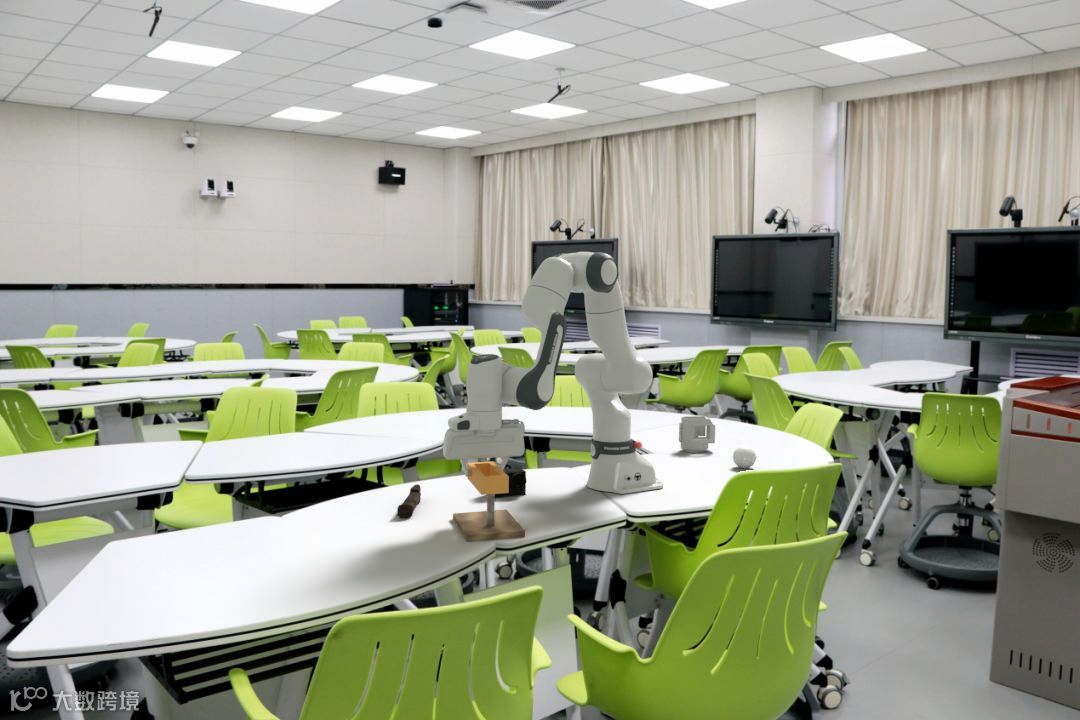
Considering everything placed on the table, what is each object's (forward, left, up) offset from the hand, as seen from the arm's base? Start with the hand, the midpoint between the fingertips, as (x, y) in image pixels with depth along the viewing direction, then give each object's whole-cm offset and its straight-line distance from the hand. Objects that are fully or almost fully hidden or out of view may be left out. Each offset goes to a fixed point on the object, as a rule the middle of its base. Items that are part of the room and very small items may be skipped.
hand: (484, 475), depth 204 cm
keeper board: (0, +4, -12) cm, 13 cm away
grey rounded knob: (-95, -36, -13) cm, 102 cm away
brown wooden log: (+16, -18, -13) cm, 27 cm away
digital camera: (-12, -23, -13) cm, 29 cm away
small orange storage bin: (0, +4, -2) cm, 4 cm away
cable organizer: (-92, -62, -13) cm, 112 cm away
